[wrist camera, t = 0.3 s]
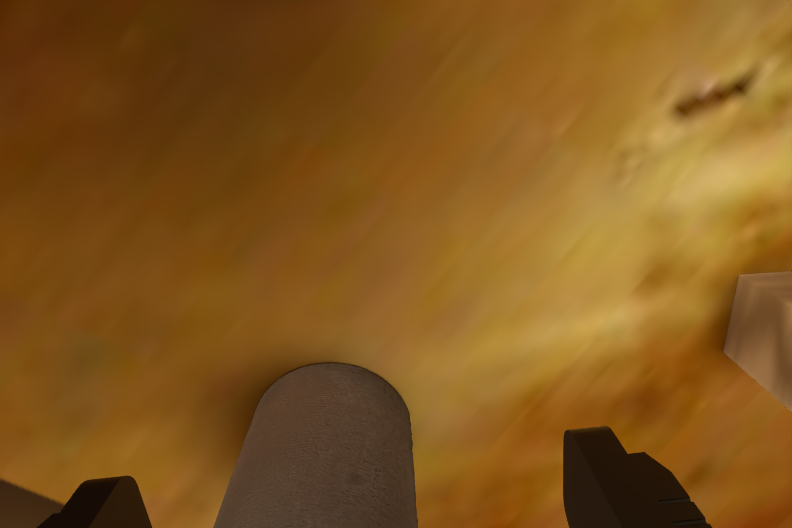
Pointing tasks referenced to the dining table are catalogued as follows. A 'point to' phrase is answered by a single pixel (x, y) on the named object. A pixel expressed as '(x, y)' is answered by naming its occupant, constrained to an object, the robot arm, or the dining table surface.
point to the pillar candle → (325, 455)
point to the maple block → (763, 331)
